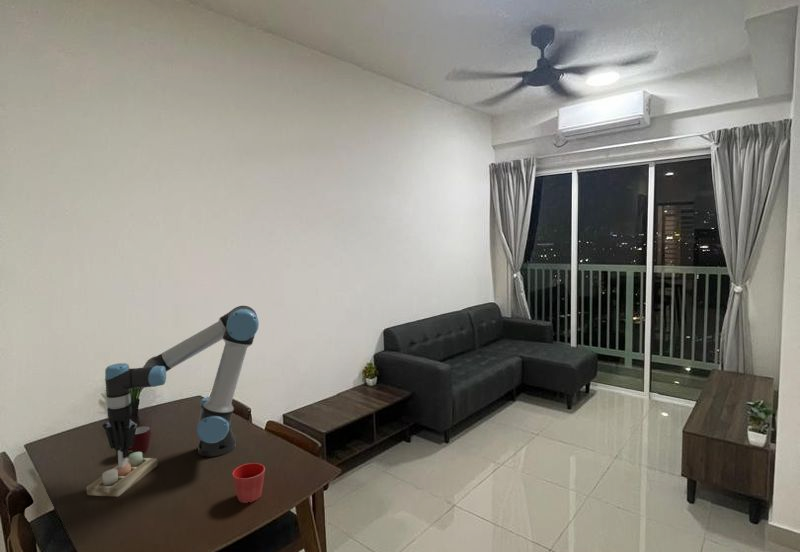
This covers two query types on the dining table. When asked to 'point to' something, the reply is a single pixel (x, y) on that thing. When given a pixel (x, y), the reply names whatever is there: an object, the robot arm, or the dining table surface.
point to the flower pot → (249, 481)
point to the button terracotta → (124, 470)
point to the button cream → (110, 476)
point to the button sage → (135, 458)
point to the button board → (122, 480)
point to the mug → (141, 439)
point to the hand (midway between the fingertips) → (123, 465)
